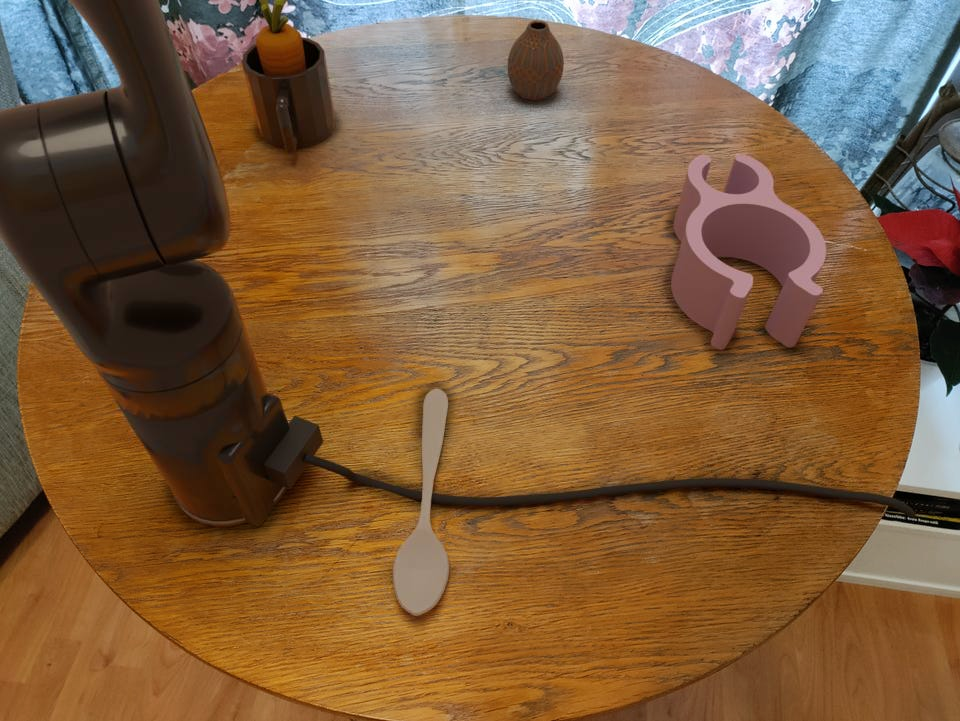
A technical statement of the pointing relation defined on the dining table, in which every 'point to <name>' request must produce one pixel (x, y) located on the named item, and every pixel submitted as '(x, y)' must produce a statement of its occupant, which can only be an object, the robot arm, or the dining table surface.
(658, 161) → the dining table surface
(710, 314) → the clip
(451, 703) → the dining table surface
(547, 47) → the vase
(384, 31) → the dining table surface
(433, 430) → the spoon
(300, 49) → the carrot
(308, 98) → the mug
